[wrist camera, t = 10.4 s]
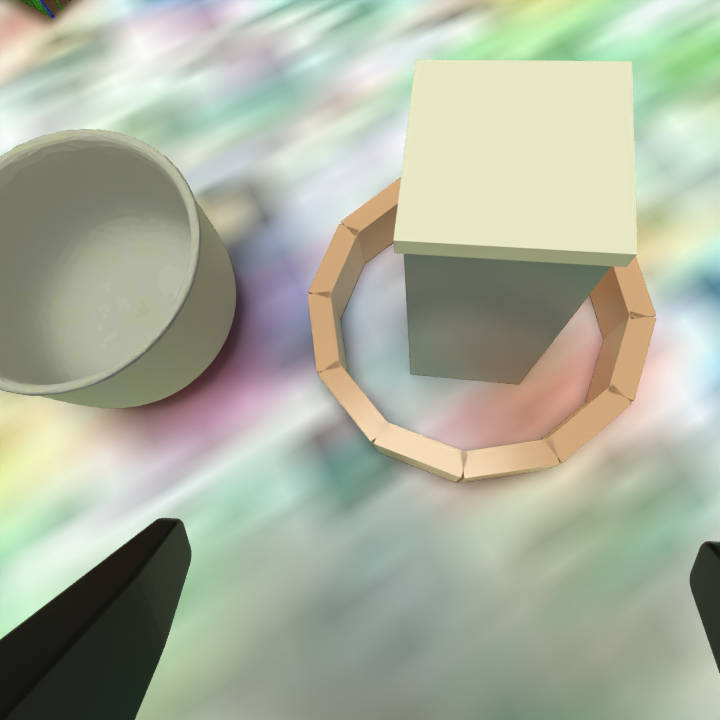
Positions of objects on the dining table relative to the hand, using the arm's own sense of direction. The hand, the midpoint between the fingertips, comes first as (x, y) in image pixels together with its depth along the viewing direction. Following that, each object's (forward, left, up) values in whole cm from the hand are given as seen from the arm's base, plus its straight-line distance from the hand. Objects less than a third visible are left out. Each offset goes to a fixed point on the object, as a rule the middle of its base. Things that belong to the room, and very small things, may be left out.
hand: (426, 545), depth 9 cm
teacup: (+12, +13, -14) cm, 22 cm away
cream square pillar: (+9, -4, -14) cm, 17 cm away
